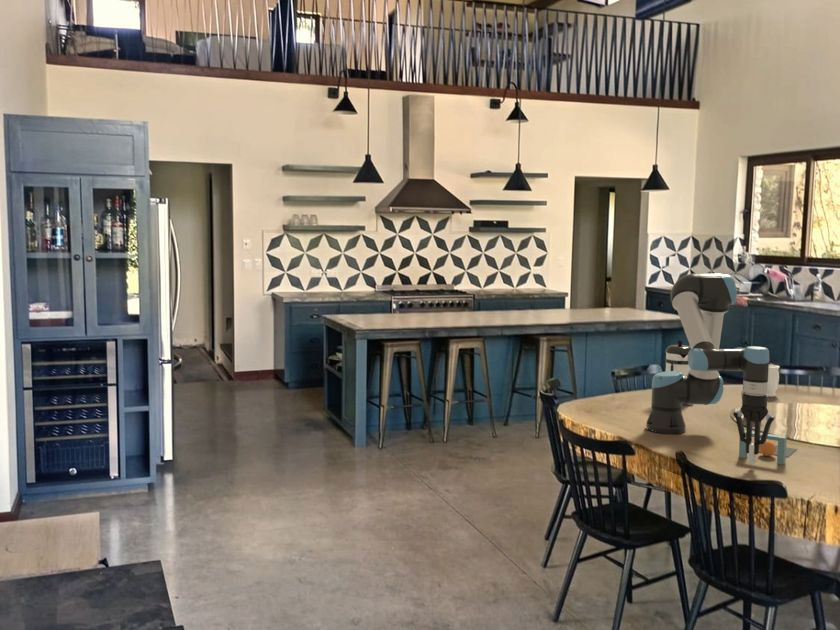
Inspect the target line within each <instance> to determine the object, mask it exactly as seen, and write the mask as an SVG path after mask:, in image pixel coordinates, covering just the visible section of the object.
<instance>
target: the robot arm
mask: <svg viewBox="0 0 840 630" xmlns="http://www.w3.org/2000/svg"><path fill="white" fill-rule="evenodd" d="M671 288H672V289H671V292H670V302H671V305H672V308H673V309H674V310H675V311H677V313H678V316H679V319H680V322H681V324H682V327H683V331H684V333H685V336H686V338H687V341H688V343H689V346H690V347H691V350H690V351H689V353H688V364H689V367H690V369H689V372H688V375H683V373H682V372H680V371H666V370H665V371H661V372H657V373H655V374H654V375H653V377H652V381H651V405H650V406H651V409H650V412H649V415H648V418H647V420H646V425H645V428H646V427H647V428H648V429H650V430H653V431H656V432H655V433H657V432H661V433H660V434H665V433H670V435H673V434H674V435H675V434H676V433H678V434H683V433H685V432H686V429H687V428H686V422H685V419H684V415H683V413H682V412H683V411H682V407H683V405H689V404H693V405H702V406H703V405H704V406H708V405H716V404H717V403H719V402H720V400H721V399H722V397H723V394H724V379H723V377H722V376H721V375H720V373H719V372H721V371H722V372H724V371H725V372H743V375H742V376H743V380H742V390H743V392H745V393H743V397H742V396H741V400H742V401H741V404H742V405H741V407H740V408H739V409H740V410H736V411H734V412H733V417H734V418H735V420H736V425H737V430H738V431H737V432H738V434H739V441H740V440H741V441H743V442H745V443H746V453H747V454H748V463H747V464H749V465H754V464H756V455H758V454H759V445H760V444H764V443H765V442H766V441H767V440H768V439H767V436H768V434H770V433H769V432H770V429H771V425H772V423H773V422H774V420H775V419H776V416H774V415H772V414H770V413H769V410H768V397H767V395H766V394H767V393H768V370H769V364H770V360H771V359H770V350H769V349H768V348H767V347H763V346H755V345H754V346H747V347H735V348H720V344H721V338H722V337H721V336H722V330H723V324H724V316H725V315H724V314H726V313H728V312H729V309H730V306H732V305H735V304H736V302H737V298H738V292H737V291H738V290H737V285H736V282H735V280H734V278H733V276H732V275H730V274H726V273H725V274H724V273H690V274H689V273H688V274H685V275H682V277H680V278H678V280H676V282H675V283H674V284H673V286H672V287H671ZM743 415H744V416H743ZM742 416H743V418H744V417H745V418H746V419H745V420H746V428H745V427H744V422H743V418H742ZM765 418H766V419H765ZM764 419H765V421H766V422H765V425H764V429H763V431H762V433H763V434H762V437H761V438H760V433H761V425H762V421H763V420H764ZM753 422H754V432H755V433H754V437H752V432H753ZM648 429H647V430H648ZM745 429H746V430H745ZM650 430H649V431H650ZM744 430H745V431H746V436H745V431H744ZM653 431H652V432H653ZM676 435H677V434H676ZM752 439H753V440H752ZM752 442H753V443H752Z"/></svg>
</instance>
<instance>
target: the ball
mask: <svg viewBox="0 0 840 630" xmlns="http://www.w3.org/2000/svg"><path fill="white" fill-rule="evenodd" d="M776 446H777V445H775V443H774V442H773V441H772V440H766V442H765V443H764V444H760V445H759V450H760V452H761V453H760V454H762V456H764V457H771V456H774V455H773V454H774V453H775V452H776Z"/></svg>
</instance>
